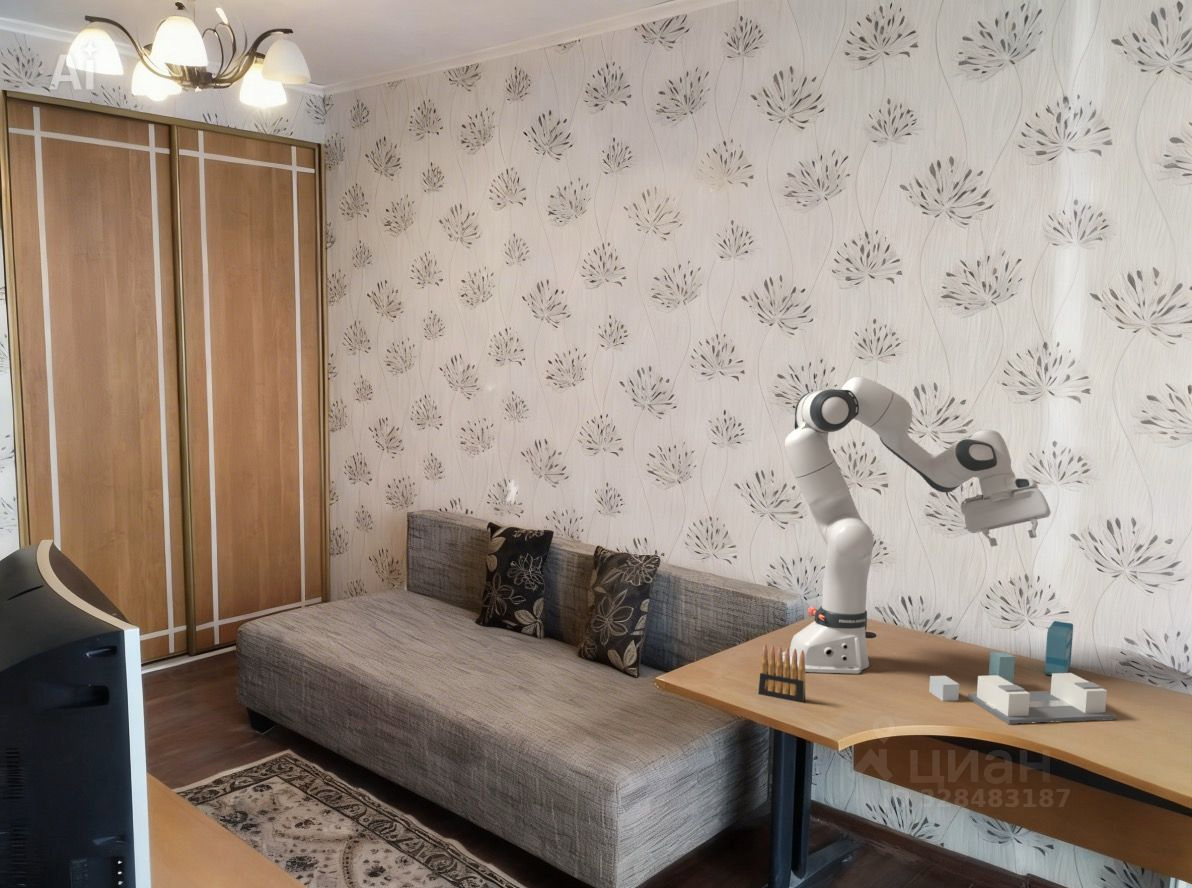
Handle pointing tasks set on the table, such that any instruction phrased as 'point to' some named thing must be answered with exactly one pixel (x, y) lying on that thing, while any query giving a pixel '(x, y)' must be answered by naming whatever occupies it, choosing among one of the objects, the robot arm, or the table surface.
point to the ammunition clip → (782, 675)
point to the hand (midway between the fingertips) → (1013, 541)
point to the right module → (1078, 692)
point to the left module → (1003, 695)
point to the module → (1002, 665)
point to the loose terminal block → (944, 688)
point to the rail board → (1044, 710)
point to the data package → (1058, 648)
